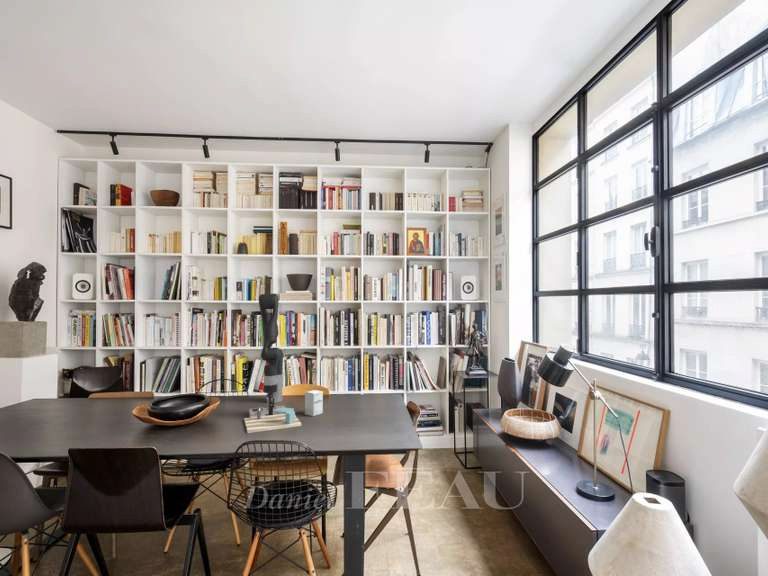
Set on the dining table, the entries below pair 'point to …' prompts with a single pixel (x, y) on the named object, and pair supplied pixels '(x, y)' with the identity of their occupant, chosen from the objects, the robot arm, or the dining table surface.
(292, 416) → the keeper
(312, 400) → the supplement box
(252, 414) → the link
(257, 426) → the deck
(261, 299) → the robot arm
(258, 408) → the cylinder
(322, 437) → the dining table surface
